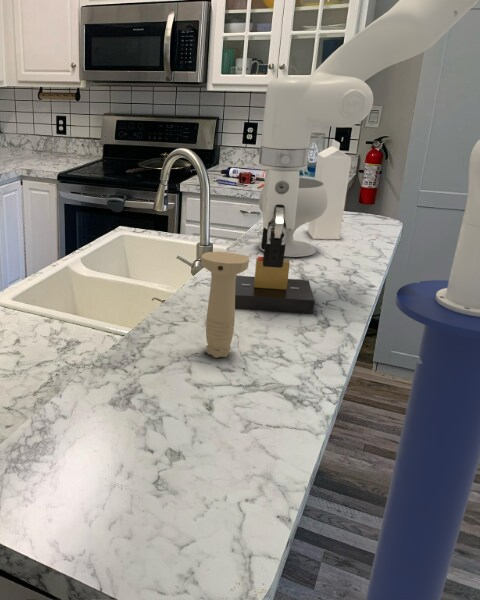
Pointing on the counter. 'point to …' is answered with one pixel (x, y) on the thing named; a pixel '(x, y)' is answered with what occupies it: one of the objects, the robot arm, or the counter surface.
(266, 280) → the tan square block
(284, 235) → the robot arm
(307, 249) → the chalice
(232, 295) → the handle
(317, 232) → the milk
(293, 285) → the plate
